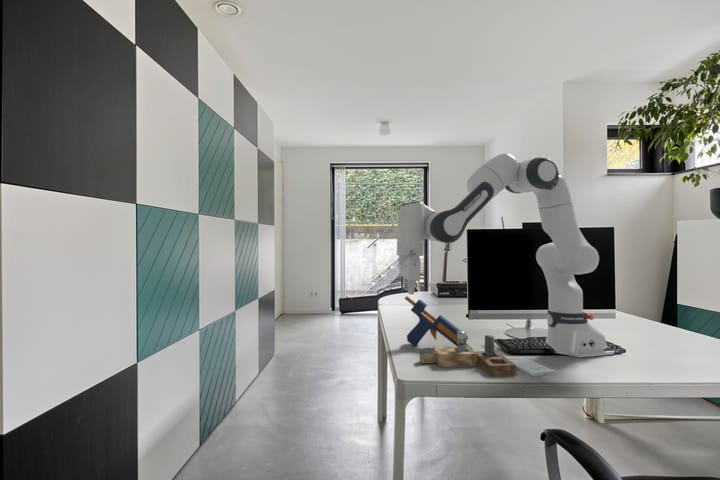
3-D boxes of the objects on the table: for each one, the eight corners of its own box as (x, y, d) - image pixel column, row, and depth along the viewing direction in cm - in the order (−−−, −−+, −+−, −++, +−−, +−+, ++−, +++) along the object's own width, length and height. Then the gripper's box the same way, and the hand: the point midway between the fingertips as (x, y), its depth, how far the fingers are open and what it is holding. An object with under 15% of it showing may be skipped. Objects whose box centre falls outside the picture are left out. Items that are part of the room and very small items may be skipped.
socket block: (467, 357, 139) (467, 346, 139) (476, 366, 130) (476, 353, 130) (433, 358, 138) (433, 346, 138) (439, 367, 129) (439, 354, 129)
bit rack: (497, 359, 136) (496, 333, 136) (516, 375, 121) (516, 345, 121) (473, 360, 136) (473, 333, 136) (490, 375, 121) (489, 345, 121)
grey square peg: (464, 360, 136) (464, 330, 136) (467, 363, 133) (467, 332, 133) (455, 360, 136) (455, 330, 136) (458, 363, 133) (458, 333, 133)
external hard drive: (528, 363, 134) (556, 375, 122) (506, 365, 132) (533, 378, 120) (528, 358, 134) (556, 370, 122) (506, 360, 132) (533, 373, 120)
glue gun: (451, 376, 150) (476, 345, 147) (384, 325, 154) (407, 294, 152) (452, 370, 155) (476, 340, 153) (387, 321, 160) (409, 291, 157)
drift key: (443, 360, 136) (443, 351, 136) (446, 363, 132) (446, 354, 132) (419, 360, 135) (419, 352, 135) (421, 363, 132) (421, 355, 132)
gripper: (426, 251, 124) (424, 296, 124) (414, 249, 145) (412, 288, 145) (405, 251, 124) (403, 296, 124) (396, 249, 144) (395, 287, 144)
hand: (408, 292), depth 134 cm, fingers open, 8 cm apart
